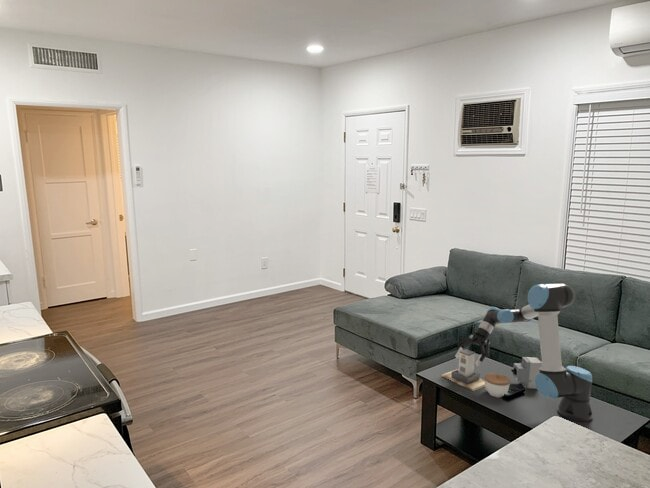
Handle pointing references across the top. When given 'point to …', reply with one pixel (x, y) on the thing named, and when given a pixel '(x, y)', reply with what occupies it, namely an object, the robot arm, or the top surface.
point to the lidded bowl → (496, 384)
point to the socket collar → (465, 379)
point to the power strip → (466, 362)
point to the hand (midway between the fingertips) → (466, 361)
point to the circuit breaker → (527, 371)
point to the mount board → (471, 386)
